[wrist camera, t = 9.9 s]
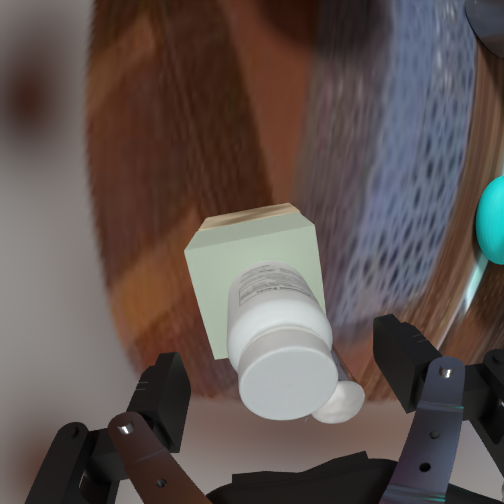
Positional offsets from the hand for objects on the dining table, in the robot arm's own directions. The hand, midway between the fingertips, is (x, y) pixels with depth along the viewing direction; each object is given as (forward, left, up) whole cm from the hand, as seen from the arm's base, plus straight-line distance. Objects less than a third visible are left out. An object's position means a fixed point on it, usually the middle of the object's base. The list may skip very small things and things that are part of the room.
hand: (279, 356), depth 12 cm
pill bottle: (0, 0, -6) cm, 6 cm away
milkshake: (-4, +11, -16) cm, 19 cm away
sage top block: (0, 0, -11) cm, 11 cm away
